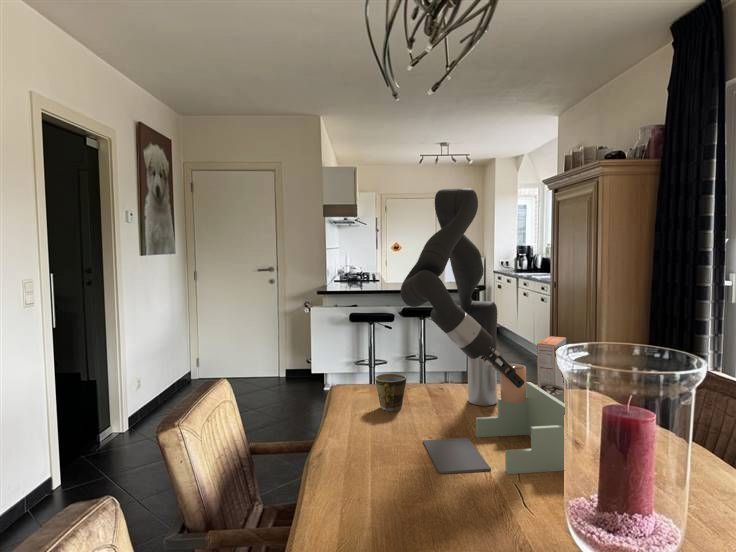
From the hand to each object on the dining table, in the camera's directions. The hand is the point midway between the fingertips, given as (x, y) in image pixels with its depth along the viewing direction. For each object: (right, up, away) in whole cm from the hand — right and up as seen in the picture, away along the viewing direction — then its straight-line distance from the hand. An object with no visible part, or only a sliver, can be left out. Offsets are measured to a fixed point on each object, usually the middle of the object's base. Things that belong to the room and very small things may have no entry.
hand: (515, 381), depth 117 cm
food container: (+17, -17, +19) cm, 31 cm away
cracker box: (+23, -16, +36) cm, 45 cm away
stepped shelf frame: (+1, -18, +1) cm, 18 cm away
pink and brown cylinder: (-1, -4, 0) cm, 4 cm away
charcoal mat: (-15, -18, -1) cm, 24 cm away
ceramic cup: (-29, -17, +34) cm, 48 cm away
